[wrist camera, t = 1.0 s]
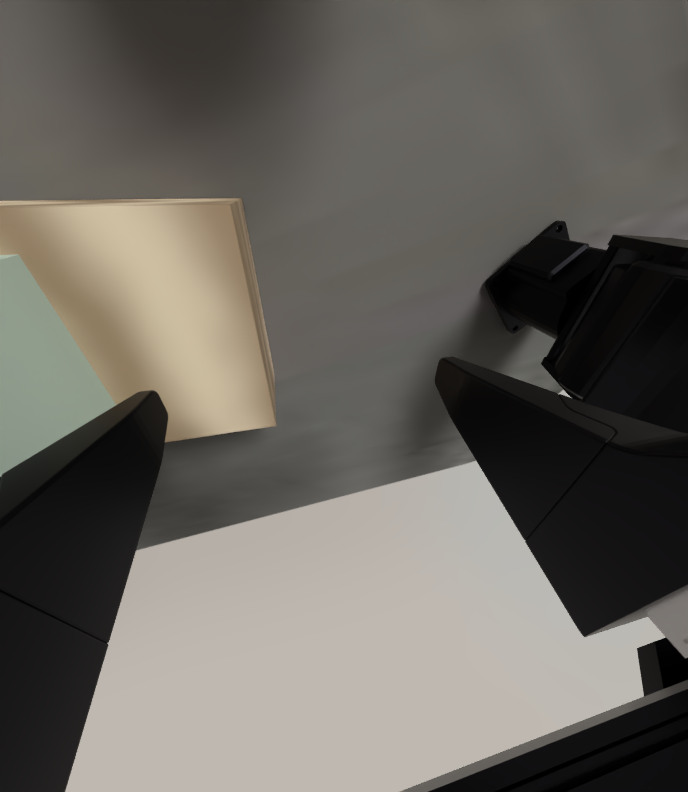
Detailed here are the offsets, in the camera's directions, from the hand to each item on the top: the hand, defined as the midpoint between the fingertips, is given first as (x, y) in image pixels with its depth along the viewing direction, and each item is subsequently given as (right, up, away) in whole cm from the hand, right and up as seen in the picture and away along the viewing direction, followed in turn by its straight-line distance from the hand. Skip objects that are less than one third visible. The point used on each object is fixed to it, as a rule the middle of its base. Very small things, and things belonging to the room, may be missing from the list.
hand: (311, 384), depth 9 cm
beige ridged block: (-12, +5, +9) cm, 16 cm away
